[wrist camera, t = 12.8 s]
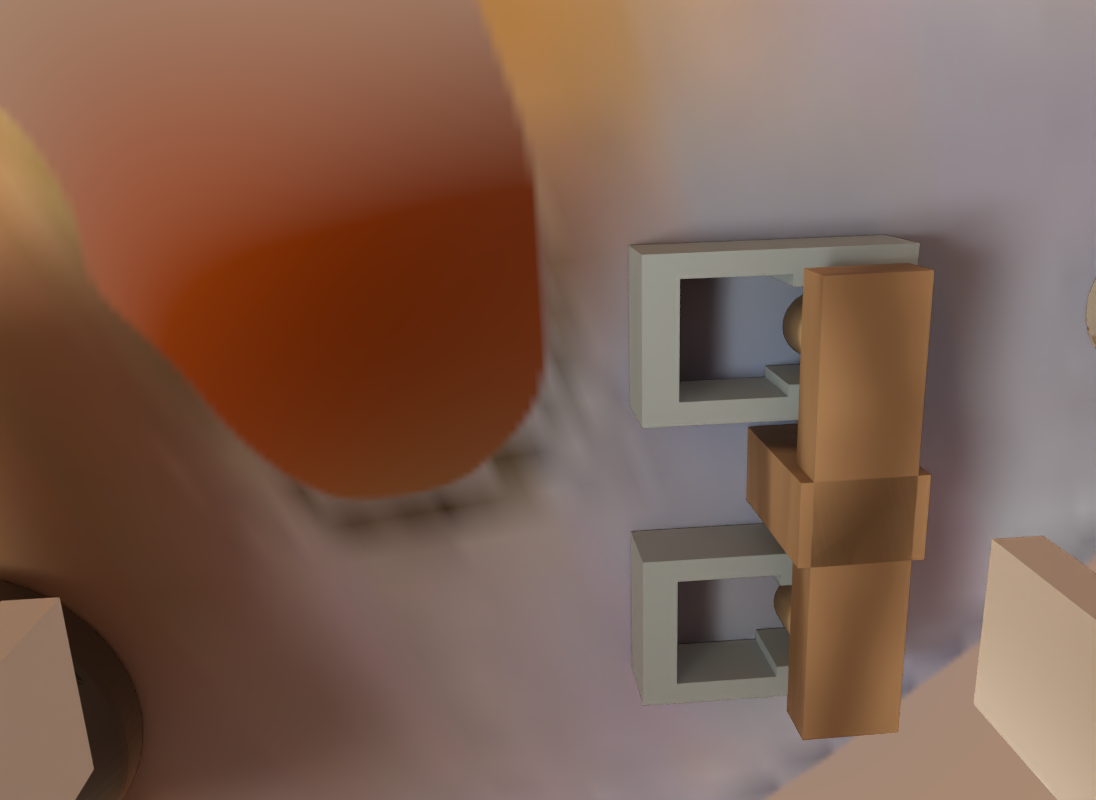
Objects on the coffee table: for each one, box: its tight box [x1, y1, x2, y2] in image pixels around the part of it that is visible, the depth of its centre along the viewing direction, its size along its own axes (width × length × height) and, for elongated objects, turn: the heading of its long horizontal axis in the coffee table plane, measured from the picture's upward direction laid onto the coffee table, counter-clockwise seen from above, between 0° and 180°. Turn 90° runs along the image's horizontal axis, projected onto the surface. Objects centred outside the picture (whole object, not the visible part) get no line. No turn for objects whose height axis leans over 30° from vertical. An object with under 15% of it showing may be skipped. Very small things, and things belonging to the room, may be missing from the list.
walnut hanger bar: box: [746, 263, 934, 740], centre depth 38 cm, size 5×19×7 cm, turn 2°
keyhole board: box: [629, 235, 920, 706], centre depth 40 cm, size 11×20×3 cm, turn 2°
